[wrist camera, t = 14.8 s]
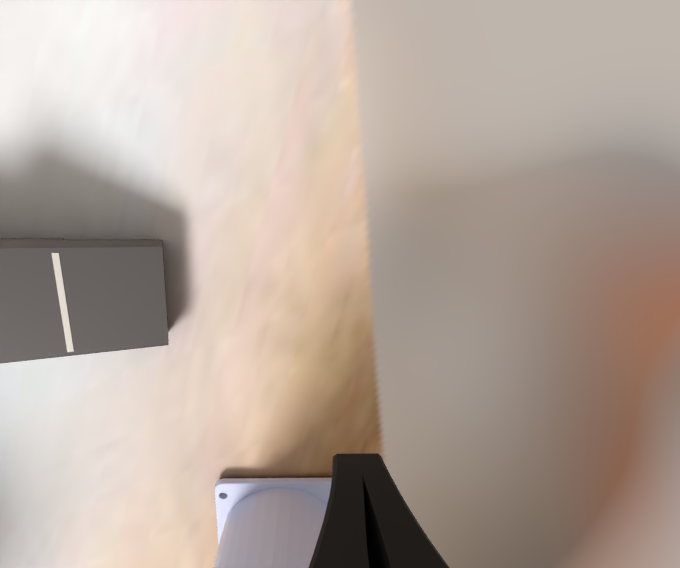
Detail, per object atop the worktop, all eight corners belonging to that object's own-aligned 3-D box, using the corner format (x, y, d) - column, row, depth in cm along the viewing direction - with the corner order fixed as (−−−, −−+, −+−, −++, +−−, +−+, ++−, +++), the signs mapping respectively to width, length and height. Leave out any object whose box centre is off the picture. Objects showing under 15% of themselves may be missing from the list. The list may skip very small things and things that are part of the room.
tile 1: (162, 247, 17) (-81, 249, 13) (168, 345, 18) (-48, 369, 15) (162, 239, 18) (-59, 240, 15) (168, 331, 20) (-31, 350, 16)
